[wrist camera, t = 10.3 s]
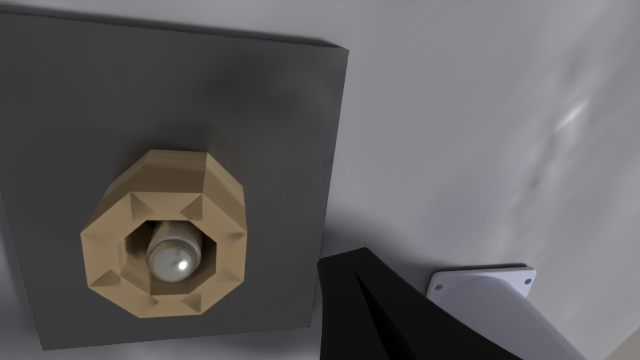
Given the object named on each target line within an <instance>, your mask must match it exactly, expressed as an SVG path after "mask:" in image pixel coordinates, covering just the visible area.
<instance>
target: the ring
mask: <svg viewBox="0 0 640 360" xmlns="http://www.w3.org/2000/svg"><path fill="white" fill-rule="evenodd" d="M146 220H189V221H191V222H192V223H193V224H194V225H195V226H197V227H198V228H199V229H200V230H202V231H203V240H202V251H201V261H200V264H199V266H198V268H197V269H196V270H195V271H194V272H193V273H192V274H191V275H189V276H188V277H187V278H185V279H184V280H181V281H178V282H165V281H162V280H160V279H158V278H157V277H155V276H154V275H153V273H152V272H151V270H150V268H149V267H148V265H147V263H146V254H147V250H148V247H149V244H150V241H151V237H152V234H153V231H154V229H153V228H152V227H150V226H149V225H148V224H146V223H145V221H146ZM80 234H81V241H82V248H83V255H84V263H85V270H86V277H87V284H88V287H89V288H90V289H92V290H94V291H95V292H97V293H99V294H100V295H102V296H104V297H105V298H107V299H108V300H110V301H112V302H113V303H115V304H117V305H118V306H120V307H122V308H123V309H125V310H127V311H128V312H130V313H132V314H133V315H135V316H137V317H138V318H149V317H166V316H183V315H200V314H202V313H203V312H205V311H206V310H207V309H209V308H210V307H211V306H212V305H214V304H215V303H216V302H218V301H219V300H220V299H222V298H223V297H224V296H225V295H227V294H228V293H229V292H231V291H232V290H233V289H234V288H236V287H237V286H238V285H240V284H241V283H242V282H243V281H244V271H245V257H246V243H247V224H246V214H245V203H244V193H243V186H242V185H241V184H240V183H239V182H238V181H237V180H236V179H235V178H234V177H233V176H232V175H231V174H230V173H229V172H227V171H226V170H225V169H224V168H223V167H222V166H221V165H220V164H219V163H218V162H217V161H216V160H215V159H214V158H213V157H212V156H211V155H210V154H209V153H208V152H194V151H174V150H154V149H151V150H150V151H148V152H147V153H146V154H145V155H144V156H142V157H141V158H140V159H139V160H138V161H137V162H135V163H134V164H133V165H132V166H131V167H129V168H128V169H127V170H126V171H125V172H124V173H122V174H121V175H120V176H119V177H118V178H117V179H115V180H114V181H113V182H112V183H111V184H110V186H109V188H108V189H107V191H106V193H105V194H104V196H103V197H102V199H101V201H100V202H99V204H98V206H97V207H96V209H95V210H94V212H93V214H92V215H91V217H90V219H89V220H88V222H87V223H86V225H85V227H84V228H83V230H82V231H81V233H80Z"/></svg>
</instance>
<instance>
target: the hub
mask: <svg viewBox="0 0 640 360" xmlns="http://www.w3.org/2000/svg"><path fill="white" fill-rule="evenodd" d="M348 54H349V50H348V49H345V48H343V47H334V46H325V45H315V44H306V43H297V42H287V41H278V40H268V39H259V38H249V37H240V36H231V35H221V34H212V33H202V32H193V31H183V30H174V29H165V28H155V27H146V26H136V25H127V24H118V23H108V22H99V21H89V20H80V19H70V18H61V17H52V16H42V15H33V14H23V13H14V12H5V11H0V187H1V191H2V195H3V199H4V203H5V207H6V210H7V214H8V218H9V222H10V226H11V230H12V234H13V237H14V241H15V245H16V249H17V253H18V257H19V261H20V264H21V268H22V272H23V276H24V280H25V284H26V288H27V291H28V295H29V299H30V303H31V307H32V311H33V315H34V318H35V322H36V326H37V330H38V334H39V338H40V342H41V345H42V349H43V350H54V349H65V348H76V347H87V346H98V345H110V344H121V343H132V342H143V341H154V340H166V339H177V338H188V337H199V336H210V335H222V334H233V333H244V332H255V331H266V330H278V329H289V328H300V327H310V320H311V313H312V306H313V299H314V292H315V285H316V278H317V271H318V269H317V262H318V261H319V257H320V250H321V243H322V236H323V229H324V222H325V215H326V208H327V201H328V194H329V187H330V180H331V173H332V166H333V159H334V152H335V145H336V138H337V131H338V124H339V117H340V110H341V103H342V96H343V89H344V82H345V75H346V68H347V61H348ZM151 149H154V150H174V151H194V152H208V153H209V154H210V155H211V156H212V157H213V158H214V159H215V160H216V161H217V162H218V163H219V164H220V165H221V166H222V167H223V168H224V169H225V170H226V171H227V172H229V173H230V174H231V175H232V176H233V177H234V178H235V179H236V180H237V181H238V182H239V183H240V184H241V185H242V186H243V193H244V203H245V214H246V224H247V243H246V257H245V271H244V281H243V282H242V283H241V284H240V285H238V286H237V287H236V288H234V289H233V290H232V291H231V292H229V293H228V294H227V295H225V296H224V297H223V298H222V299H220V300H219V301H218V302H216V303H215V304H214V305H212V306H211V307H210V308H209V309H207V310H206V311H205V312H203V313H202V314H200V315H183V316H166V317H149V318H138V317H137V316H135V315H133V314H132V313H130V312H128V311H127V310H125V309H123V308H122V307H120V306H118V305H117V304H115V303H113V302H112V301H110V300H108V299H107V298H105V297H104V296H102V295H100V294H99V293H97V292H95V291H94V290H92V289H90V288H89V287H88V284H87V277H86V270H85V263H84V255H83V248H82V241H81V234H80V233H81V231H82V230H83V228H84V227H85V225H86V223H87V222H88V220H89V219H90V217H91V215H92V214H93V212H94V210H95V209H96V207H97V206H98V204H99V202H100V201H101V199H102V197H103V196H104V194H105V193H106V191H107V189H108V188H109V186H110V184H111V183H112V182H113V181H114V180H115V179H117V178H118V177H119V176H120V175H121V174H122V173H124V172H125V171H126V170H127V169H128V168H129V167H131V166H132V165H133V164H134V163H135V162H137V161H138V160H139V159H140V158H141V157H142V156H144V155H145V154H146V153H147V152H148V151H150V150H151ZM145 223H146V224H148V225H149V226H150V227H152V228H153V229H154V231H153V234H152V237H151V241H150V244H149V247H148V250H147V254H146V263H147V265H148V267H149V268H150V270H151V272H152V273H153V275H154V276H155V277H157V278H158V279H160V280H162V281H165V282H178V281H181V280H184V279H185V278H187V277H188V276H189V275H191V274H192V273H193V272H194V271H195V270H196V269H197V268H198V266H199V264H200V261H201V251H202V240H203V231H202V230H200V229H199V228H198V227H197V226H195V225H194V224H193V223H192V222H191V221H189V220H146V221H145Z"/></svg>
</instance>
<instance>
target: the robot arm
mask: <svg viewBox="0 0 640 360" xmlns="http://www.w3.org/2000/svg"><path fill="white" fill-rule="evenodd" d="M317 269H318V274H319V280H320V285H321V291H322V299H323V310H322V338H321V351H320V360H587V359H586V358H585V357H584V356H583V355H582V354H581V353H580V352H579V351H578V350H577V349H576V348H575V347H574V346H573V345H572V344H571V343H570V342H569V341H568V340H567V339H566V338H565V337H564V336H563V335H562V334H561V333H560V332H559V331H558V330H557V329H556V328H555V327H554V326H553V325H552V324H551V323H550V322H549V321H548V320H547V319H546V318H545V317H544V316H543V315H542V314H541V313H540V312H539V311H538V310H537V309H536V308H535V307H534V306H533V305H532V304H531V303H530V302H529V301H528V300H527V299H526V297H527V295H528V292H529V290H530V288H531V285H532V283H533V281H534V279H535V276H536V271H535V270H534V269H533V268H532V267H517V268H499V269H482V270H464V271H446V272H437V273H435V274H434V275H433V276H432V278H431V281H430V285H429V288H428V291H427V295H426V296H424V295H423V294H422V293H420V292H419V291H418V290H417V289H415V288H414V287H413V286H411V285H410V284H409V283H408V282H406V281H405V280H404V279H403V278H401V277H400V276H399V275H398V274H397V273H396V272H394V271H393V270H392V269H391V268H390V267H388V266H387V265H386V264H385V263H384V262H383V261H382V260H381V259H379V258H378V257H377V256H376V255H375V254H374V253H373V252H372V251H371V250H369V249H368V248H366V247H364V248H360V249H356V250H352V251H349V252H345V253H341V254H337V255H333V256H329V257H326V258H322V259H320V260H319V261H318V262H317ZM437 285H438V286H437Z"/></svg>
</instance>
